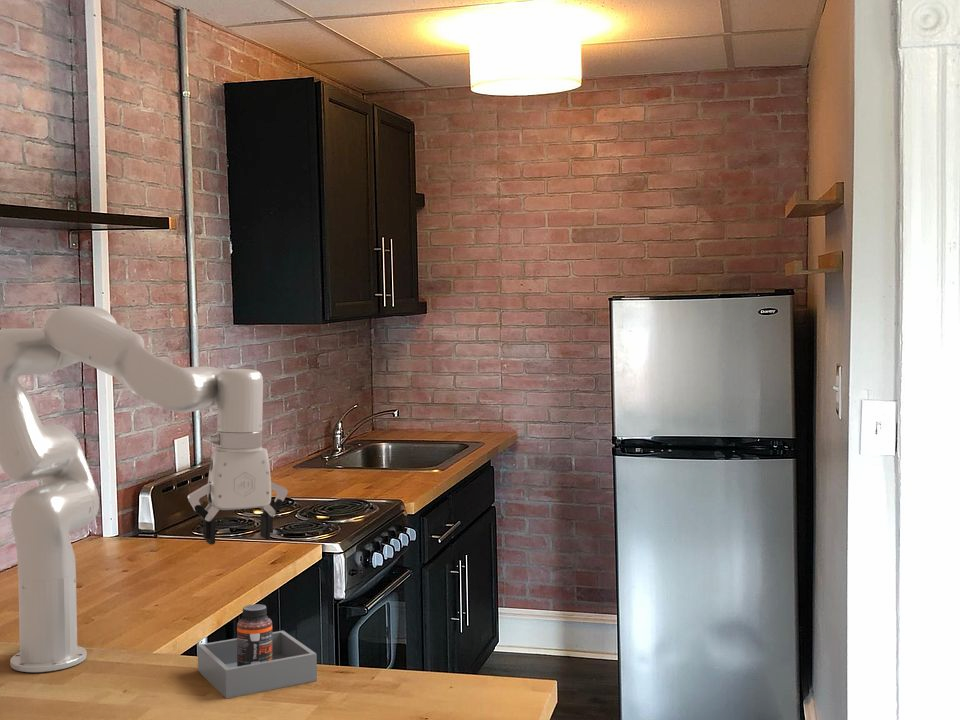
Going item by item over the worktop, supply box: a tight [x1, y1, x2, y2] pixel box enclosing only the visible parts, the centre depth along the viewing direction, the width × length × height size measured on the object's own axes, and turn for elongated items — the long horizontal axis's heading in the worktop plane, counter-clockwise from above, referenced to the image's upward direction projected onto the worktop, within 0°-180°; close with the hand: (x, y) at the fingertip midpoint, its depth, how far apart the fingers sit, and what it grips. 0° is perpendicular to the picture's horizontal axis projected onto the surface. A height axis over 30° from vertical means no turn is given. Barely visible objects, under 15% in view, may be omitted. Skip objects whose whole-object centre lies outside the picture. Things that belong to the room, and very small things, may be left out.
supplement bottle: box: [236, 603, 273, 667], centre depth 177 cm, size 6×6×11 cm
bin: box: [197, 630, 318, 699], centre depth 177 cm, size 16×16×5 cm
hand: (238, 540), depth 178 cm, fingers open, 9 cm apart
